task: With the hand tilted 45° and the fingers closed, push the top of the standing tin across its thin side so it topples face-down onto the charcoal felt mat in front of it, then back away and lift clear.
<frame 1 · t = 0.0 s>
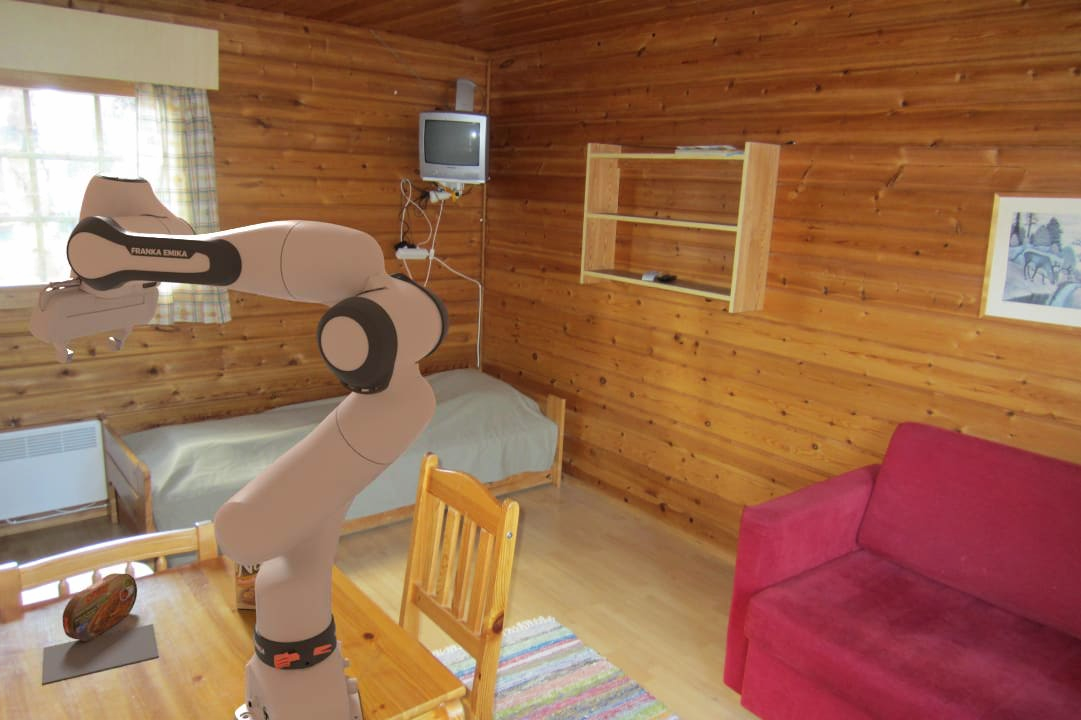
hand: (89, 355, 128), 52 cm above the table, tool tilted 20°, fingers open, 8 cm apart
candy box: (263, 606, 155), on the table
tin: (102, 627, 146), on the table, touching felt mat
felt mat: (101, 652, 139), on the table
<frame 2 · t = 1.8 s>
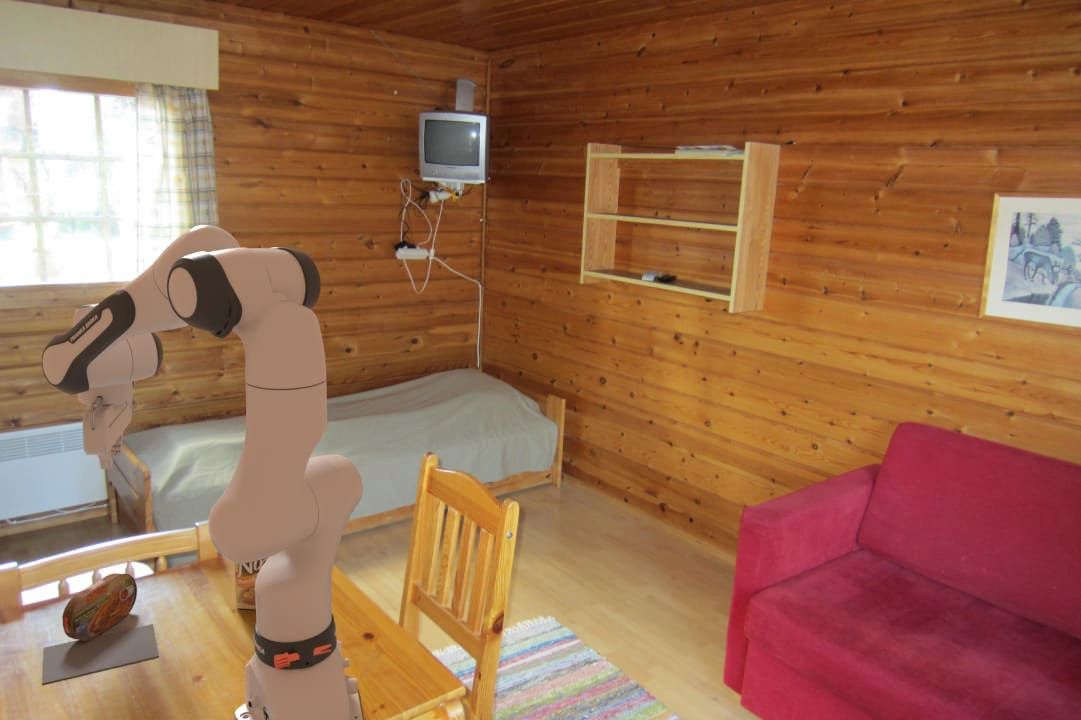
hand: (111, 461, 151), 27 cm above the table, tool pointing down, fingers open, 5 cm apart
nothing on the table moved.
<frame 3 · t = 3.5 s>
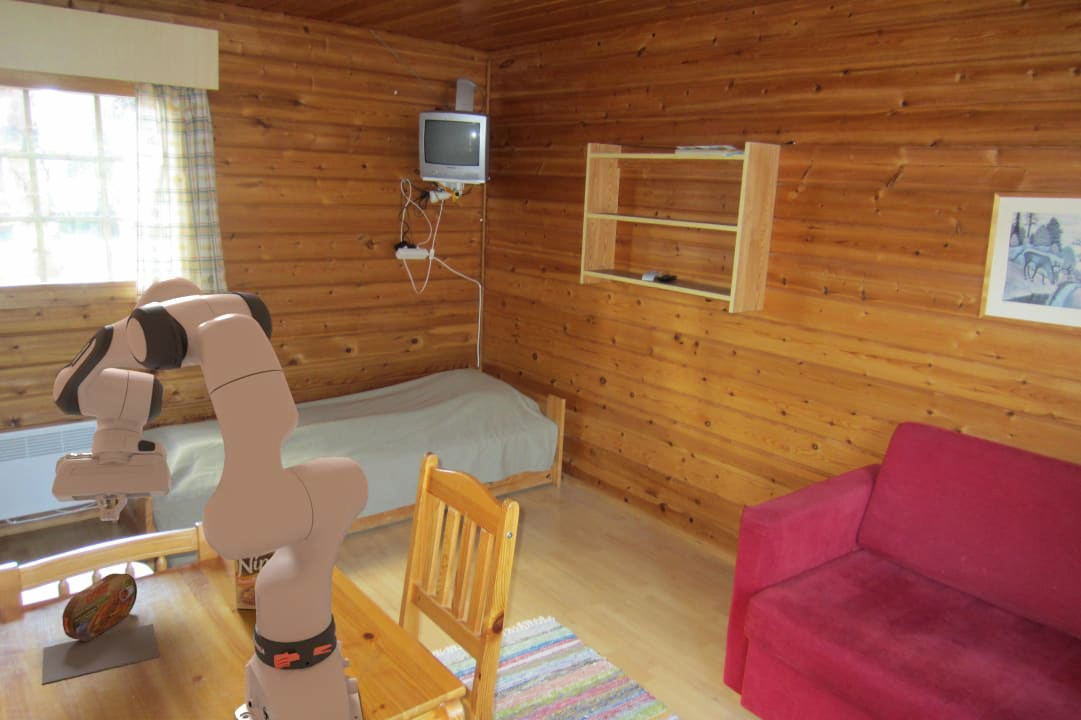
hand: (109, 519, 152), 16 cm above the table, tool tilted 45°, fingers closed
nothing on the table moved.
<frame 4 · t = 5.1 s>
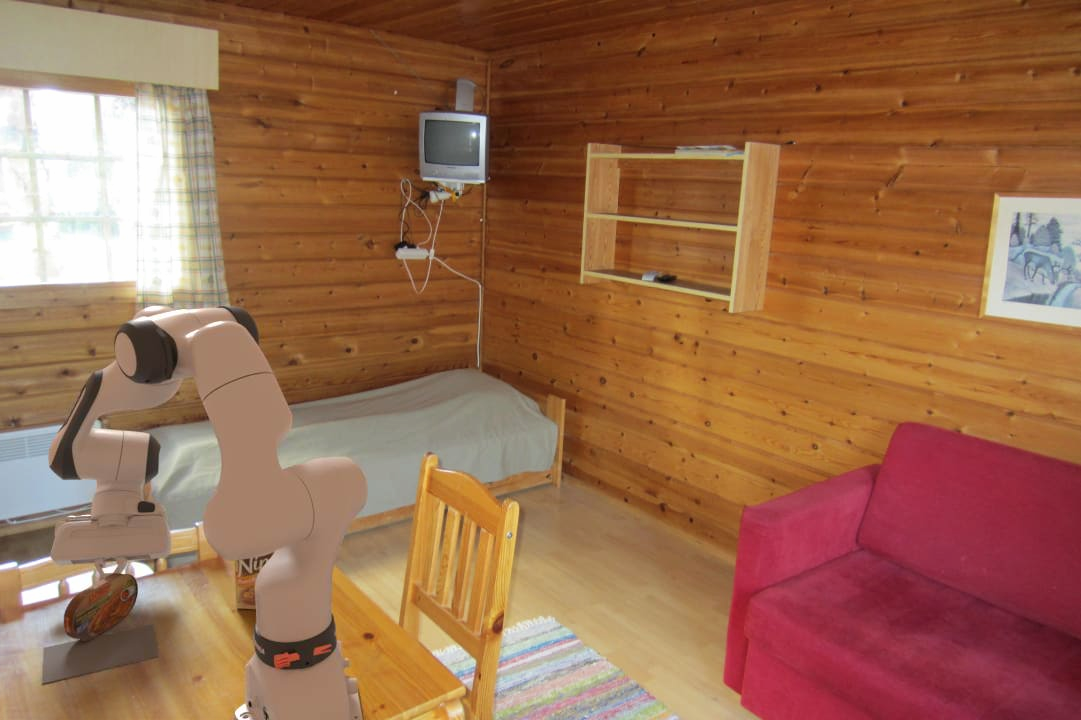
hand: (108, 584, 150), 5 cm above the table, tool tilted 45°, fingers closed
tin: (102, 627, 146), on the table, touching felt mat, gripper
everything else where it was.
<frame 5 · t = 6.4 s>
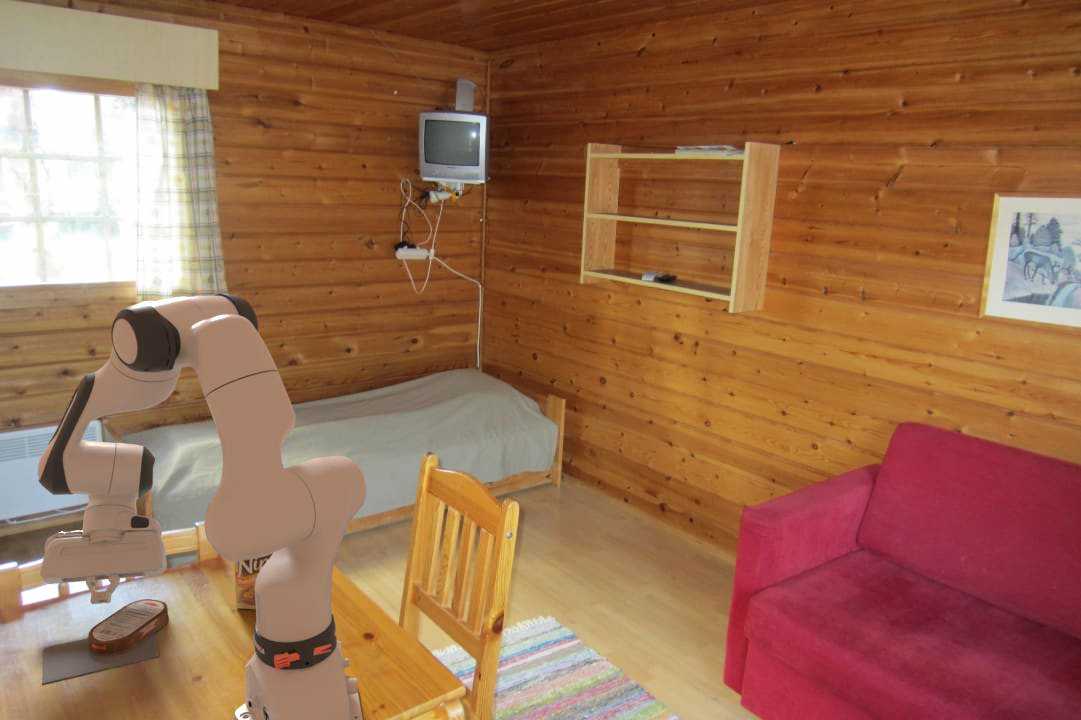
hand: (100, 602, 144), 5 cm above the table, tool tilted 45°, fingers closed
tin: (109, 619, 145), point 2 cm above the table, touching felt mat
everything else where it was.
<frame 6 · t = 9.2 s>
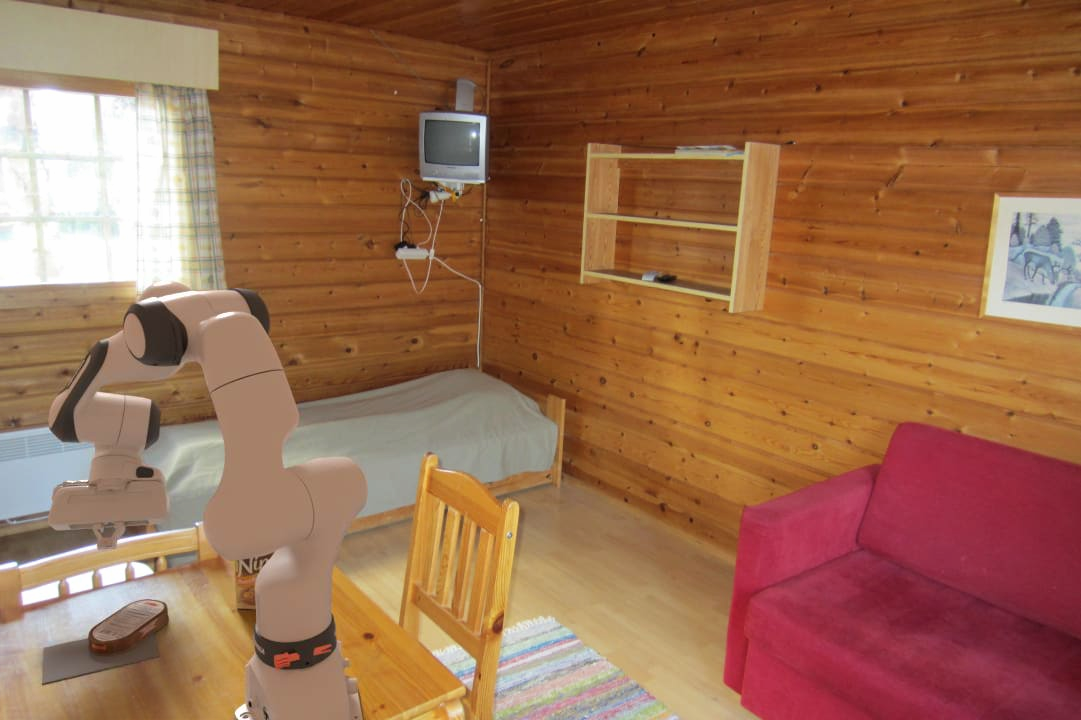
hand: (106, 548, 149), 12 cm above the table, tool tilted 45°, fingers closed
nothing on the table moved.
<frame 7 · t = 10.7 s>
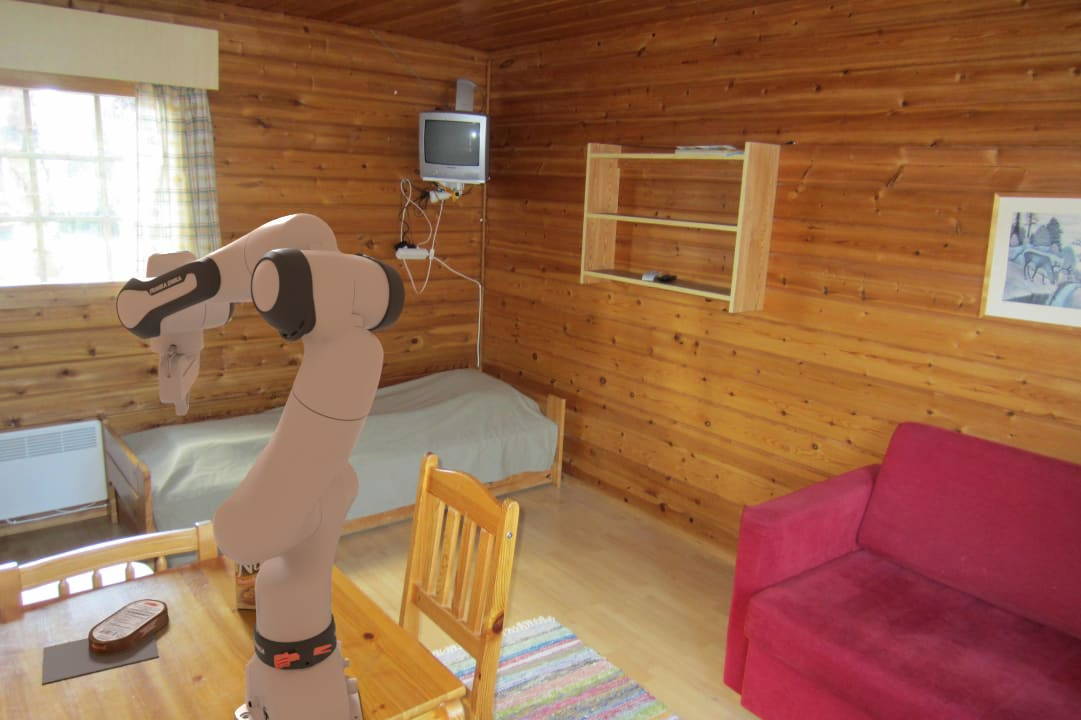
hand: (182, 413, 150), 37 cm above the table, tool pointing down, fingers closed
nothing on the table moved.
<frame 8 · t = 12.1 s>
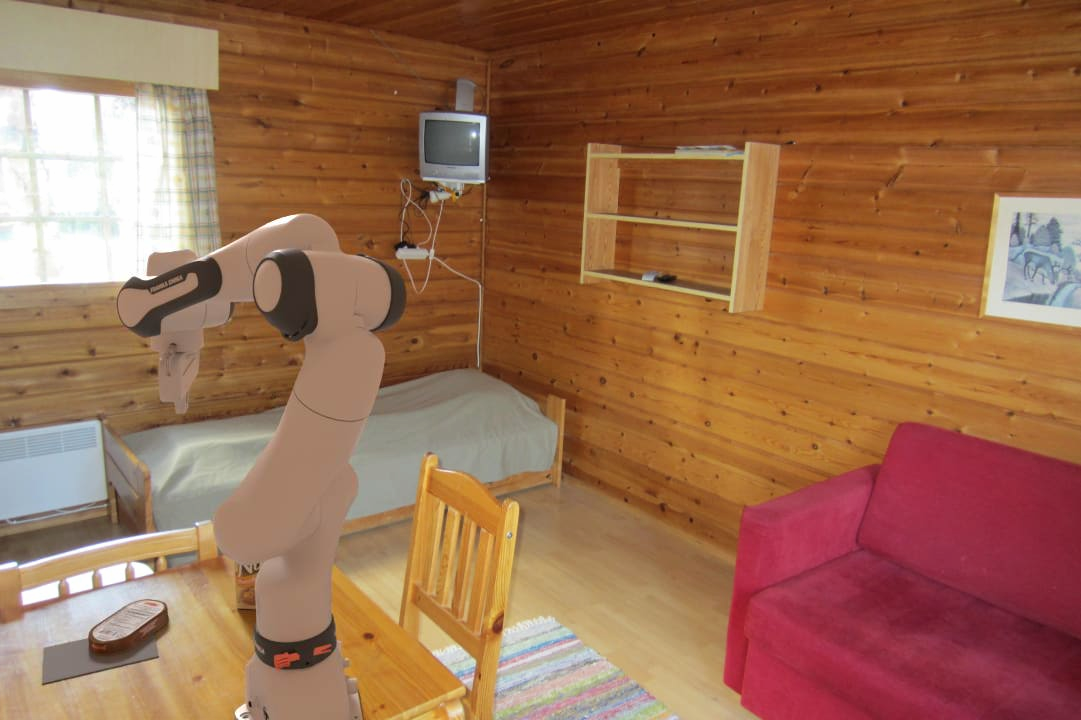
hand: (182, 411, 150), 37 cm above the table, tool pointing down, fingers closed
nothing on the table moved.
at the end: tin tilted 94°; tin touching felt mat; tin inside the target area (1.8 cm from its centre), point 1.8 cm above the table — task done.
